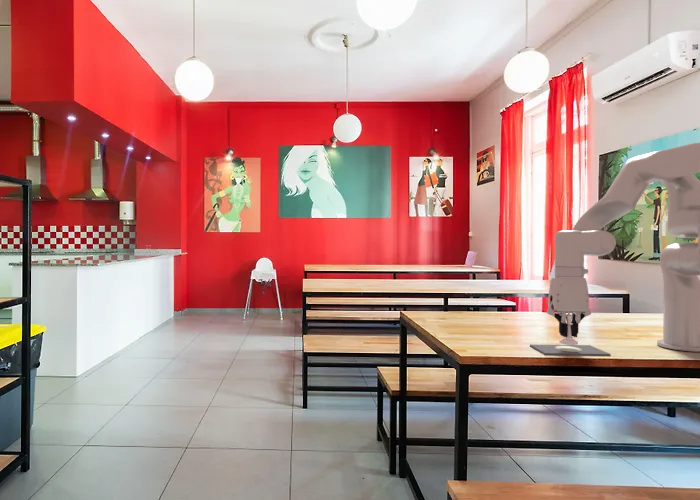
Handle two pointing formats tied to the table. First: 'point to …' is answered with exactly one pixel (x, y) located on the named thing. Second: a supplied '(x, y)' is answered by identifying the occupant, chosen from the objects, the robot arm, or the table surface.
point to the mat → (569, 350)
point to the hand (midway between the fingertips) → (568, 335)
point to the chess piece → (569, 332)
